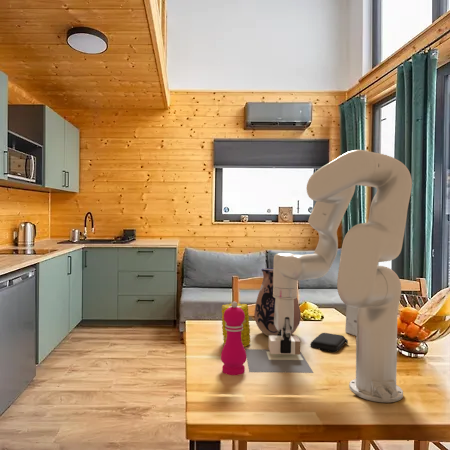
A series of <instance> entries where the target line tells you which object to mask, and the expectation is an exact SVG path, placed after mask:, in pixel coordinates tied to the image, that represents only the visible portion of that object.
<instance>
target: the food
mask: <svg viewBox="0 0 450 450" xmlns="http://www.w3.org/2000/svg"><path fill="white" fill-rule="evenodd" d="M237 304H238V305H237V307H239V308H241V309H242V310H243V311H244V314H245V319H244V321H243V323H242V325H243V330H242V331H241V340H242V344H243V346H244V348H247V346H250V343H251V335H250V333H251V329H250V327H251V326H250V318H249V317H250V315H249V314H250V313H249V306H248V304H246V303H242V304H241V303H237ZM230 307H232V306H231V303H226V304H222V305H221V315H222V316H221V325H222V327H221V328H222V336H223V338H222V340H223V344H224V345H225V343H226V339H227V330H226V329H225V328H226V326H225V325H226V324H227V323H226V322H225V320H224V312H225V310H226V309H228V308H230Z"/></svg>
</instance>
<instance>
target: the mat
mask: <svg viewBox="0 0 450 450" xmlns="http://www.w3.org/2000/svg"><path fill="white" fill-rule="evenodd" d="M244 349H245V348H244ZM245 351H246V357H247V358H246V362H247V366H248V373H281V374H283V373H285V374H286V373H288V374H289V373H295V374H296V373H298V374H301V373H303V374H304V373H305V374H307V373H308V374H314V371H313V370H312V368H311V366H310V365H309V362H308V361H307V359H306V358H305V356H304V354H303V352H302V351H301V350H300V354H271V353H270V350H269V348H268V349H263V348H262V349H260V348H255V349H254V348H253V349H252V348H250V349H249V348H246V349H245Z"/></svg>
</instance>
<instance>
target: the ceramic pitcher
mask: <svg viewBox="0 0 450 450" xmlns="http://www.w3.org/2000/svg"><path fill="white" fill-rule="evenodd" d="M273 270H274V267H267V268H262V269H261V272H262V281H261V282H262V283H261V285H260V288H259V292H258V294H257V298H256V301H255V305H254V313H253V314H254V321H255V323H256V326H257V327H258V329H259V331H260V332H261V333H263V334H264V335H266V336H267V337H269V335H275V336H277V333H278V330H277V329H276V327H275V325H274V312H275V298H274V297H273ZM301 313H302V312H301V308H300V304H299V299H298V297H297V298H296V299H294V325H293V330H292V331H291V335H292V334H294V333H295V332H296V330H297V328H298V327H299V326H300V323H301V317H302V316H301Z"/></svg>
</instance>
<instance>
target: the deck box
mask: <svg viewBox="0 0 450 450" xmlns="http://www.w3.org/2000/svg"><path fill="white" fill-rule="evenodd" d="M281 340H282V338H281V336H275V335H269V336H268V349H269V350H270V353H271V354H300V351H301V340H300V338H299V337H298V336H297V335H291V353H281V352H280V342H281Z"/></svg>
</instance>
